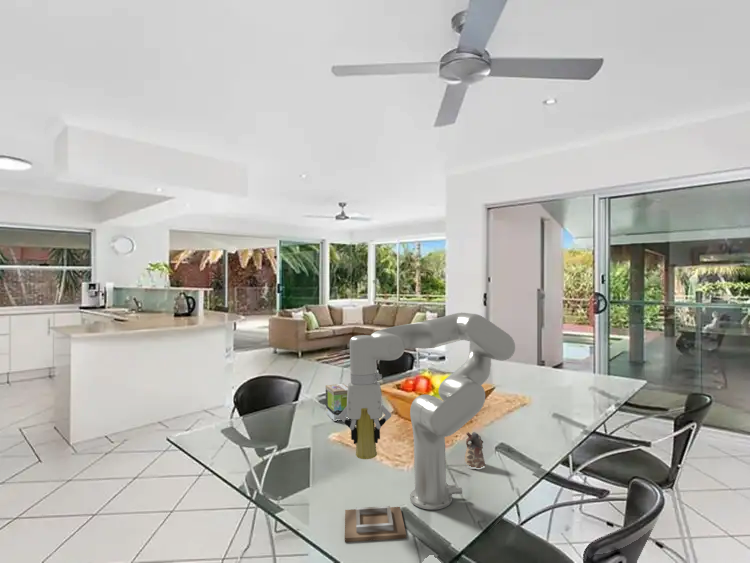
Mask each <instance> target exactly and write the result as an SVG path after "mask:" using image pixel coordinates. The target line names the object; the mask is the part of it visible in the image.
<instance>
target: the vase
mask: <svg viewBox="0 0 750 563" xmlns="http://www.w3.org/2000/svg"><path fill="white" fill-rule="evenodd" d="M367 410H368V408H362V409H361V417H360V419H358V420H356V423H355V426H356V444H355V446H356V447H355V456H356V458H358V459H360V460H371V459H374V458H376V457H377V455H378V451H377V443H375V422H374V420H373V419H370V415H369V414H368V412H367Z"/></svg>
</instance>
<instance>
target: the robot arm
mask: <svg viewBox="0 0 750 563" xmlns="http://www.w3.org/2000/svg"><path fill="white" fill-rule="evenodd" d="M459 341H466V342H469V352H468V357H467V359H466V361H465V362H464V363H463V364H462V365H461V366H459V367H458V368H457V369H456V370H454V371H453V372H452V373H451V374H450V375H449V376H447V377H446V378H445V379H444V380H442V382H441V383H440V385H439V387H438V395H439V398H438V397H436V396H433V395H431V394H421V395H418V396H416V397H415V398H414V399H413V401H412V402H411V405H410V409H409V410H410V411H409V412H410V413H409V416H410V421H411V427H412V433H413V460H414V461H413V466H414V489H413V490H412V491H411V492H410V494H409V496H410V497H409V498H410V499H409V500H410V502H411V503H412V504H413V505H414V506H416V507H418V508H420V509H424V510H431V511H432V510H441V509H445V508H446V507H448V506H450V505H451V503H452V501H453V500H452V499H453V495H462V494H463V489H462V488H463V487H462V486H457V485H456V484H449V483H447V468H446V467H447V466H446V463H447V462H446V461H447V460H446V437H447V438H448V437H450V436H452V435H454V434H455V433H456V432H458V431H459V430H460V429H461V428H462V427H464V426H465V425H466V424H467V423H469V421H471V420H472V418H474V417H475V416H476V415H477V414H478V413H479V412H480V411H481V410H482V408H483V406H484V405H485V401H486V391H485V389H484V387H483V384H485V383H486V381H487V380H488V378H489V377H490V372H491V364H492V363H491V362H492V360H496V361H507V360H509V359H510V358H512V356H514V353H515V351H516V343H515V340H514V339H513V337H512V336H511V335H510V334H509V333H508V332H506V331H504V330H503V329H502V328H501V327H499V326H497V325H496V324H494V323H493V322H492V321H490V320H489V319H487V318H486V317H484V316H482V315H480V314H477V313H468V312H457V313H451V314H449V315H444V316H440V317H436V318H433V319H428V320H424V321H418V322H412V323H407V324H401V325H394V326H390V327H387V328H383V329H379V330H376V331H374V332H373V333H371V334H370V335H368V334H365V335H364V334H361V335H354V336H352V337H351V338H350V339H349V363H350V364H349V365H350V366H349V367H350V368H349V369H350V382H348V385H347V386H348V392H347V406H346V408H345V409H344V410H343V411H342V412H341V414H340V415H339V419H340V420H342V421H341V422H343V423H344V425H346V426H347V427H348V428H349V430H350V438H351V441H353V445H356V420H358V419H360V417H361V409H362V408H368V410H367V412H368V414H369V415H370V419H373V420H374V424H375V443H376V444H378V443H379V440H381V431H380V430H381V427H383V425H385V424H386V422H387V421H388V420H389V419H391V417H392V413H391V412H390V411H389V410H388V409H387V408H386V407H385V405H383V397H382V394H383V393H382V389H381V383H380V382H379V380H382V378H383V375H382V373H381V374H379V373H377V361H396V360H398V359H399V358H401V357H402V356H403V354H404V352H405V350H406V349H436V348H437V347H441V346H445V345H448V344H453V343H455V342H456V343H457V342H459ZM346 414H347V416H348V418H349V419H351V420H349V419H348V418H346V417H345V415H346ZM383 414H384V415H383Z"/></svg>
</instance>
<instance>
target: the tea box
mask: <svg viewBox="0 0 750 563" xmlns="http://www.w3.org/2000/svg"><path fill="white" fill-rule="evenodd" d="M347 392H348V385H347V384H345V383H336V384H327V385H325V414H326V415H327V416H328V417H329V418H330V419H331V420H332V419H333V420H336V419H339V415H340V414H341V412H342V411H343V410H344V409H345V408H346V406H347ZM345 417H348V416H347V414H346V415H345ZM333 420H332V421H333Z"/></svg>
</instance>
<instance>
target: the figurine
mask: <svg viewBox="0 0 750 563" xmlns="http://www.w3.org/2000/svg"><path fill="white" fill-rule="evenodd" d="M466 436H467V437H466V438H467V439H466V441H465V444H466V451H465V455H464V463H465V462H466V464H467V465H469V466H471V467H476V468H481V467H483V466H485V467H486V462H485V461H486V460H485V458H484V451H483V450H484V447H483V446H484V445H483V444H484V441H483V439H482V437H481V435H479V433H477V432H476V431H474V432H472V433H471V432H468V431H467V432H466ZM469 442H470V443H469Z"/></svg>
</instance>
